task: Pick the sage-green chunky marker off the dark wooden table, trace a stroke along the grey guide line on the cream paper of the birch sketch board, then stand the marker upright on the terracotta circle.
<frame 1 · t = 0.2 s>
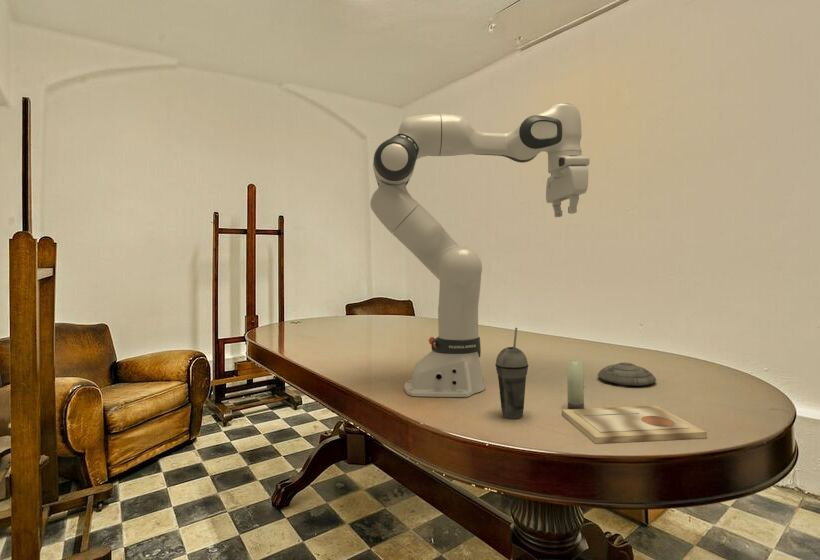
hand: (565, 215, 124), 47 cm above the table, fingers open, 8 cm apart
sketch board: (628, 425, 93), on the table
flying saucer: (626, 382, 127), on the table
marker: (575, 408, 105), on the table
beverage cup: (512, 416, 101), on the table
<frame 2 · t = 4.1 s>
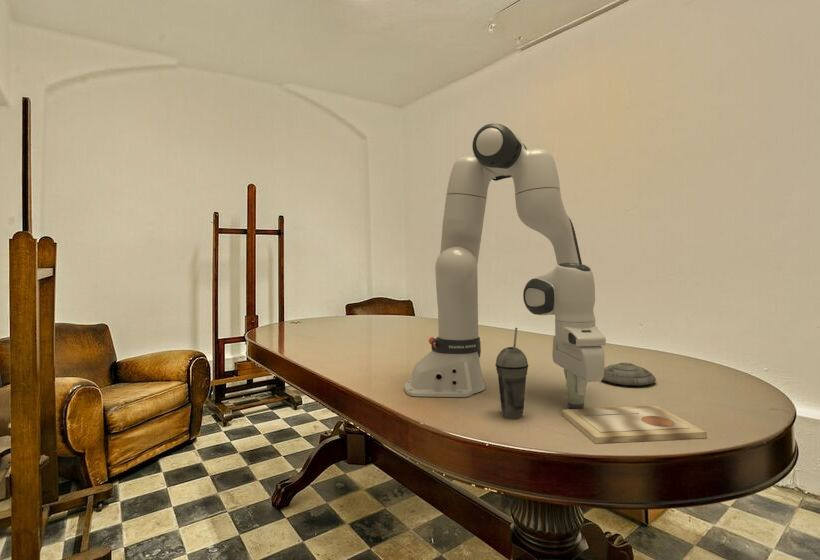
hand: (575, 390, 105), 4 cm above the table, fingers closed on marker, 4 cm apart
marker: (575, 408, 105), on the table, touching gripper
everything else where it was.
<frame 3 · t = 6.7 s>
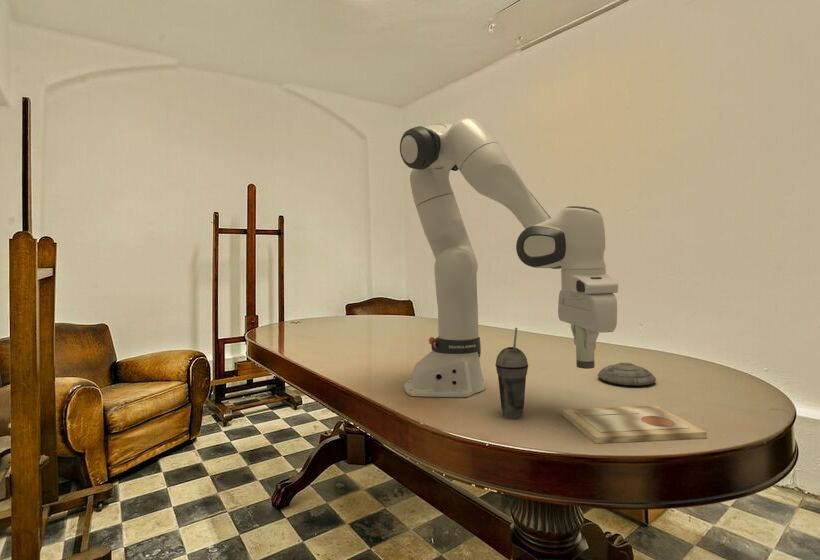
hand: (584, 347, 95), 16 cm above the table, fingers closed on marker, 4 cm apart
marker: (585, 366, 95), point 12 cm above the table, touching gripper
everything else where it was.
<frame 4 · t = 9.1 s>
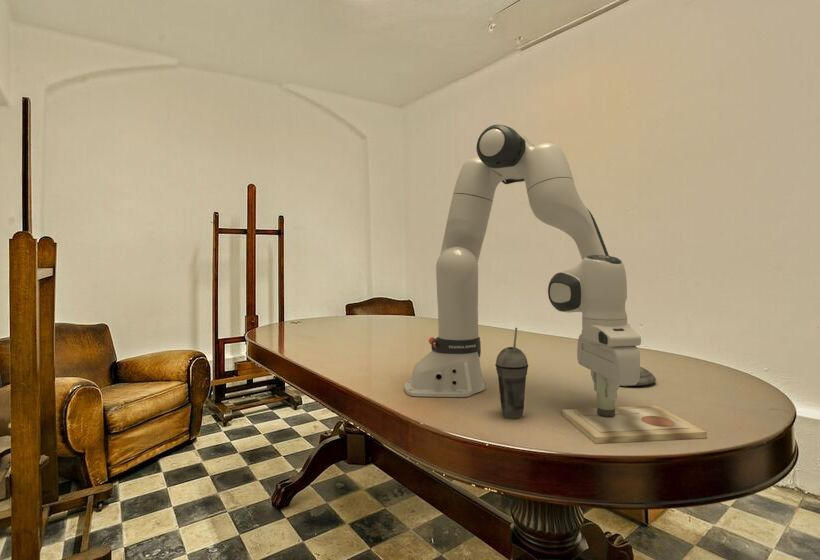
hand: (605, 395, 96), 6 cm above the table, fingers closed on marker, 4 cm apart
marker: (606, 414, 96), point 2 cm above the table, touching gripper
everything else where it was.
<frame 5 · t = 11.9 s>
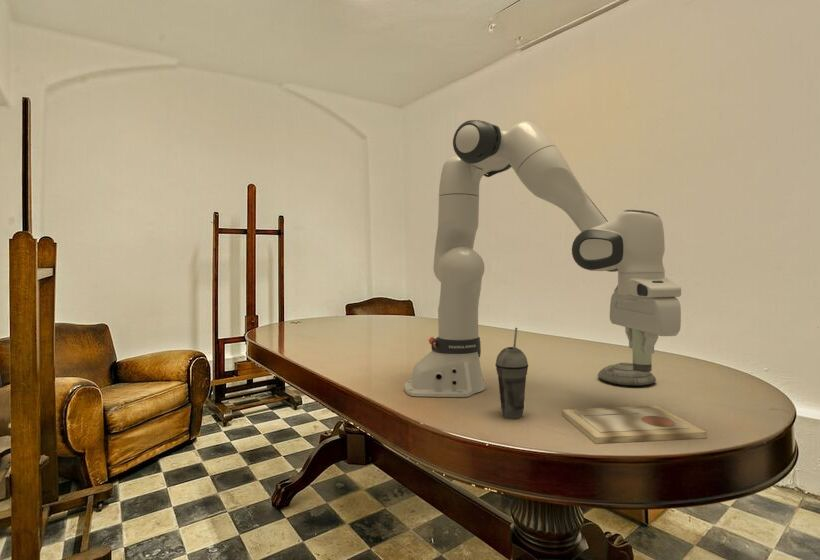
hand: (641, 350, 95), 15 cm above the table, fingers closed on marker, 4 cm apart
marker: (642, 369, 95), point 11 cm above the table, touching gripper
everything else where it was.
when the fingers open (7 cm above the table, at t = 14.1 s): marker stays where it is, resting on sketch board.
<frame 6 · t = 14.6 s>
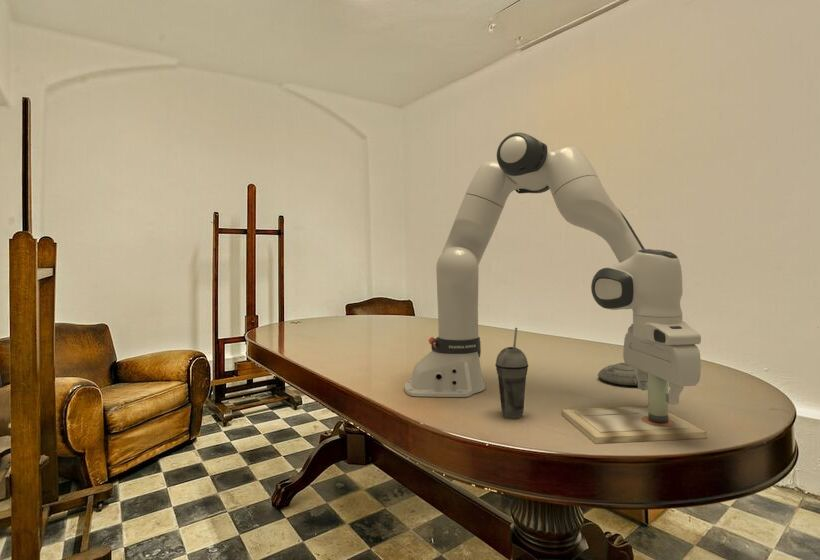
hand: (657, 396, 91), 7 cm above the table, fingers open, 8 cm apart
marker: (658, 420, 91), point 2 cm above the table, touching sketch board
everything else where it was.
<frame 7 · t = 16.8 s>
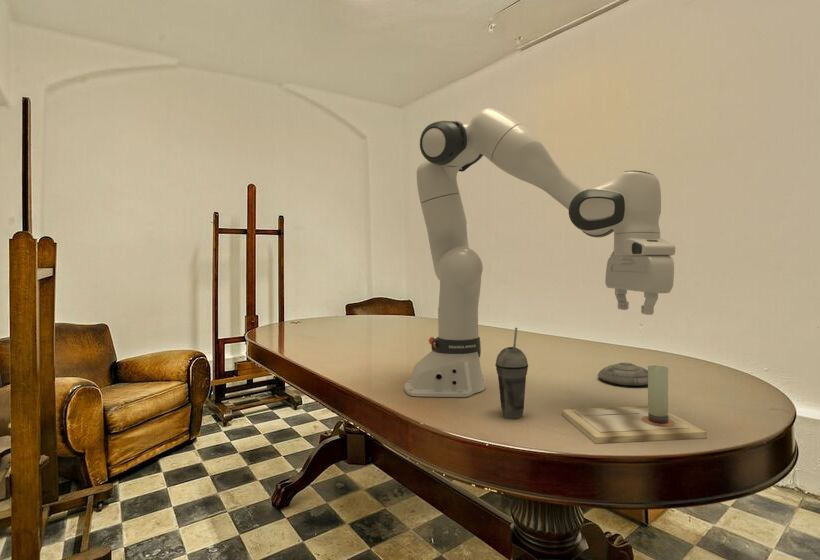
hand: (634, 311, 96), 23 cm above the table, fingers open, 8 cm apart
nothing on the table moved.
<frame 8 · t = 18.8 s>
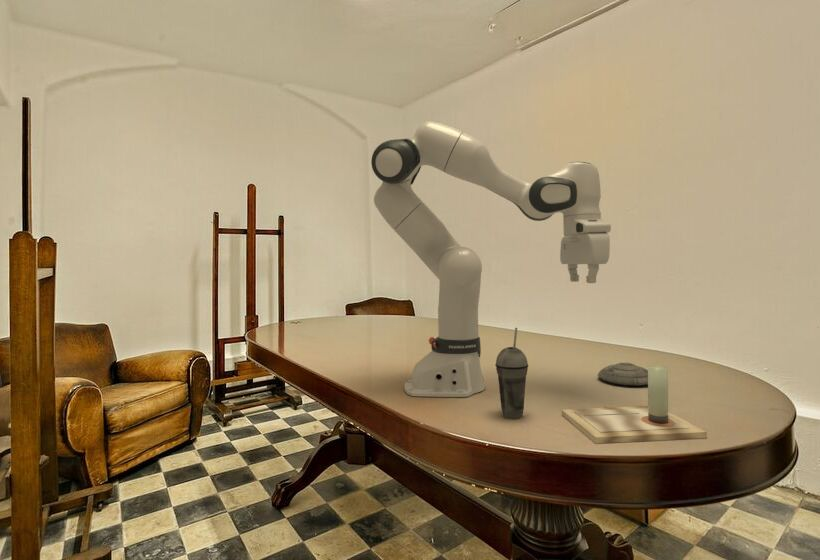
hand: (582, 282, 113), 29 cm above the table, fingers open, 8 cm apart
nothing on the table moved.
at the end: marker 0.2 cm from the target spot on the sketch board, point 1.5 cm above the sketch board's base; marker tilted 0°; the gripper is holding nothing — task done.
